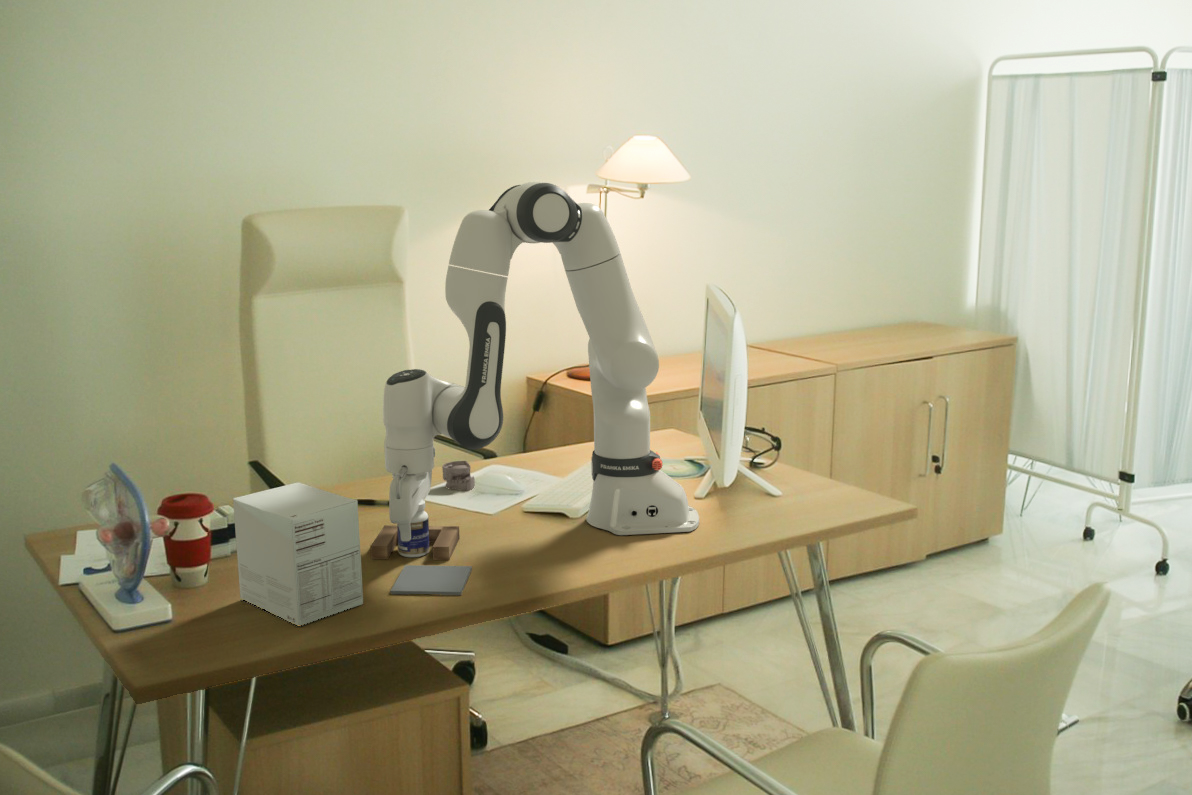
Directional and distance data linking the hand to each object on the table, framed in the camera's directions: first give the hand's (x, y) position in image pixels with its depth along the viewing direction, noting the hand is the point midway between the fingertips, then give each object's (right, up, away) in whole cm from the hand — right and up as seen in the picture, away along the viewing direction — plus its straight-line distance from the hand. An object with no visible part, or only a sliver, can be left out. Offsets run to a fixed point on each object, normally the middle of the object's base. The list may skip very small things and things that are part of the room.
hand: (411, 531), depth 219 cm
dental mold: (+4, +5, +42) cm, 42 cm away
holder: (0, -4, +3) cm, 5 cm away
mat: (+6, -7, -13) cm, 16 cm away
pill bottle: (0, -4, +1) cm, 4 cm away
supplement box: (-15, -10, -22) cm, 28 cm away
